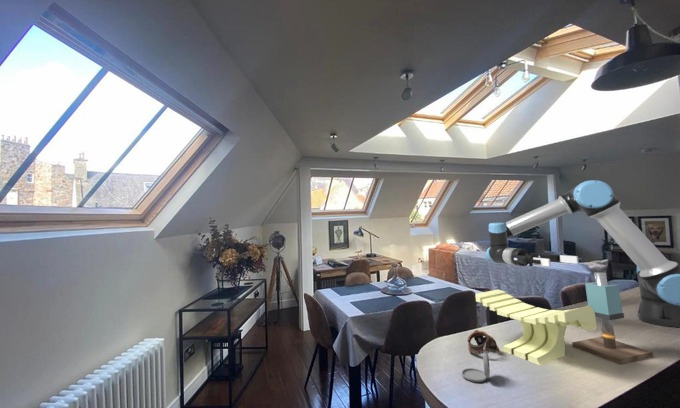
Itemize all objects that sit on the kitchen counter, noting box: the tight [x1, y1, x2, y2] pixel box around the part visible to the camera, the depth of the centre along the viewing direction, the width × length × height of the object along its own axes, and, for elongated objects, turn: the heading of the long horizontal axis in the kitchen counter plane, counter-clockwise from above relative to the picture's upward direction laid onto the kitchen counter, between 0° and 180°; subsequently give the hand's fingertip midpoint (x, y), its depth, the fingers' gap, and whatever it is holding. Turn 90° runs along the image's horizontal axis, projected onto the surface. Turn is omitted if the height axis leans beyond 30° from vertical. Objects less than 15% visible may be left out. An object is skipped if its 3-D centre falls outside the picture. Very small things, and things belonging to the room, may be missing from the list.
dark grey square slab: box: [594, 312, 625, 321], centre depth 95 cm, size 6×6×2 cm
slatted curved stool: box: [475, 289, 598, 366], centre depth 98 cm, size 30×16×18 cm, turn 25°
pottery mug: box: [467, 329, 501, 356], centre depth 99 cm, size 12×10×8 cm
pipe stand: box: [571, 271, 654, 365], centre depth 95 cm, size 14×14×26 cm
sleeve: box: [584, 281, 623, 315], centre depth 96 cm, size 6×6×9 cm
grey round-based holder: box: [461, 343, 491, 383], centre depth 83 cm, size 8×8×10 cm
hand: (564, 261), depth 108 cm, fingers open, 13 cm apart
